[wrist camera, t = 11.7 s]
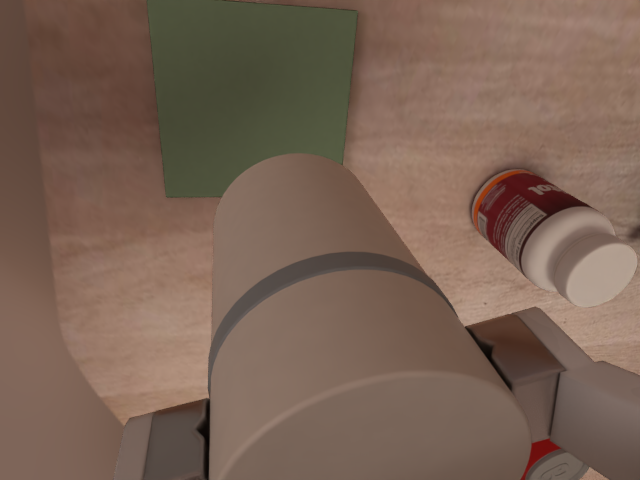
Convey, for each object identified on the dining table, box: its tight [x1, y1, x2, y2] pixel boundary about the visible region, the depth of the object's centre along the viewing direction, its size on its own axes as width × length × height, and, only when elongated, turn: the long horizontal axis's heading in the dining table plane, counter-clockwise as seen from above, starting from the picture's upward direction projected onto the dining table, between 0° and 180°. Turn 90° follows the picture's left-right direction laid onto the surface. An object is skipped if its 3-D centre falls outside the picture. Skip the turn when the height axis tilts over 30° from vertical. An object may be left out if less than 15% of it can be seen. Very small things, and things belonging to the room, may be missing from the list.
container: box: [208, 153, 531, 480], centre depth 11 cm, size 5×5×9 cm
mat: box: [147, 0, 358, 197], centre depth 29 cm, size 12×12×1 cm
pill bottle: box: [472, 169, 637, 308], centre depth 32 cm, size 6×6×11 cm
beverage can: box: [520, 438, 589, 480], centre depth 41 cm, size 7×7×12 cm
